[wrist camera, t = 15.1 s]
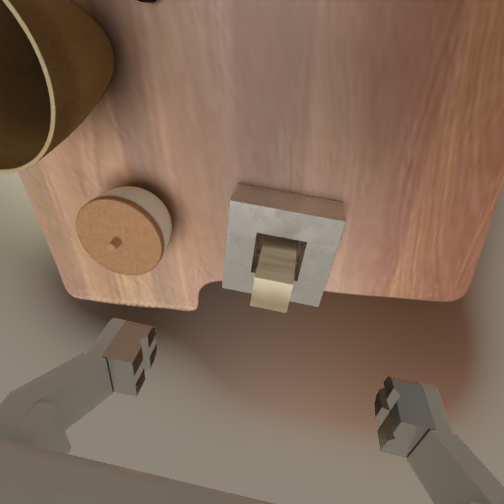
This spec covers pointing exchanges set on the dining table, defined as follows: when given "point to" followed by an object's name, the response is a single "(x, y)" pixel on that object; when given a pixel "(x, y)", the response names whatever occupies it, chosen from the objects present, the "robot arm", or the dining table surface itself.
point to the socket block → (287, 226)
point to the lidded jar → (125, 230)
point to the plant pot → (47, 76)
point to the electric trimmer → (147, 0)
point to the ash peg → (275, 274)
